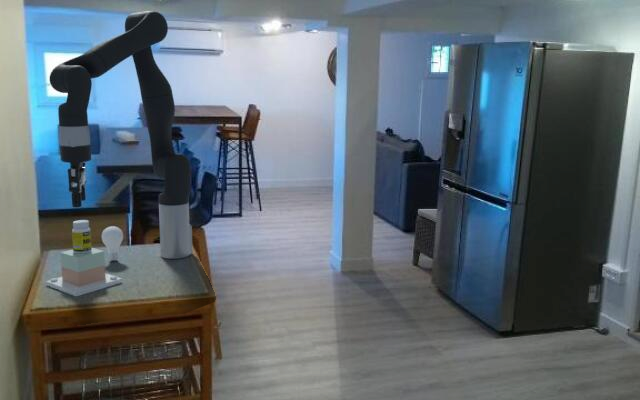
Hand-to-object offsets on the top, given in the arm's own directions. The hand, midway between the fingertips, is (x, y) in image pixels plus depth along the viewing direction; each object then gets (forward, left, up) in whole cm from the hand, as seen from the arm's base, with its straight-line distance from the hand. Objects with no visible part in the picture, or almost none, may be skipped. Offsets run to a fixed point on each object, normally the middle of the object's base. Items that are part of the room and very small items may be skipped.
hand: (79, 203), depth 161 cm
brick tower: (0, 0, -23) cm, 23 cm away
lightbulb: (-18, -12, -23) cm, 31 cm away
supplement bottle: (0, 0, -14) cm, 14 cm away
